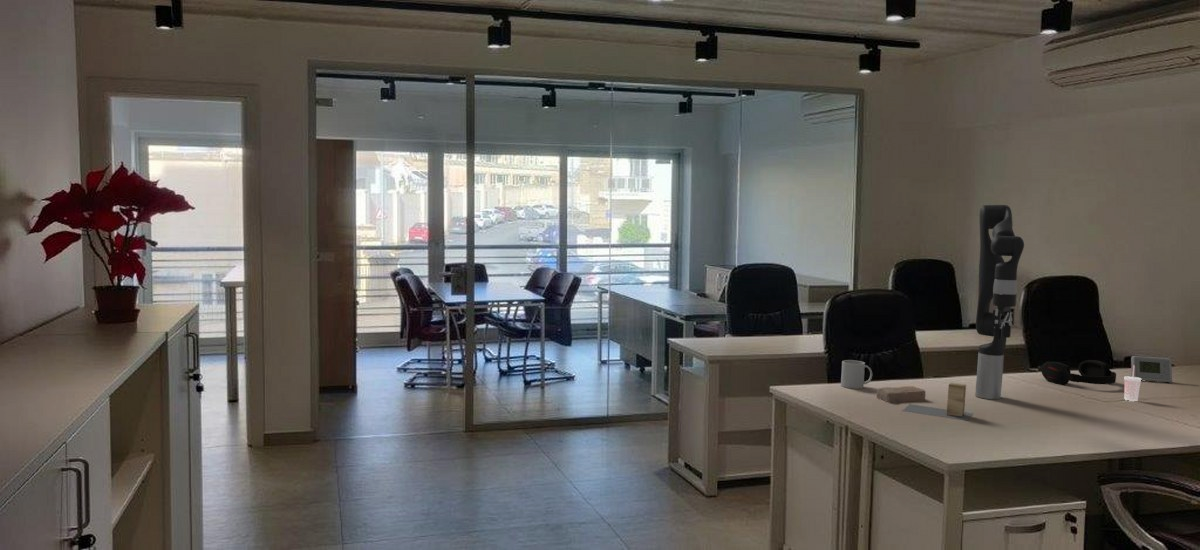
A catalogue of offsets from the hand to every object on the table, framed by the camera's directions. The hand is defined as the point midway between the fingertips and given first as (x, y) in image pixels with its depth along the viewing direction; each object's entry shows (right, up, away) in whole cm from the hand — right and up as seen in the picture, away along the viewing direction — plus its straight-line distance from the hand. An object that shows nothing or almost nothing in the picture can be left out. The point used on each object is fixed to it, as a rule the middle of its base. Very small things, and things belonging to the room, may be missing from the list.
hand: (1002, 338), depth 312 cm
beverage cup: (+68, -28, +38) cm, 83 cm away
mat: (-21, -27, +5) cm, 35 cm away
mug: (-39, -23, +46) cm, 64 cm away
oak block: (-16, -27, +1) cm, 32 cm away
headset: (+65, -25, +72) cm, 100 cm away
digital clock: (+102, -25, +79) cm, 131 cm away
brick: (-28, -26, +25) cm, 45 cm away
